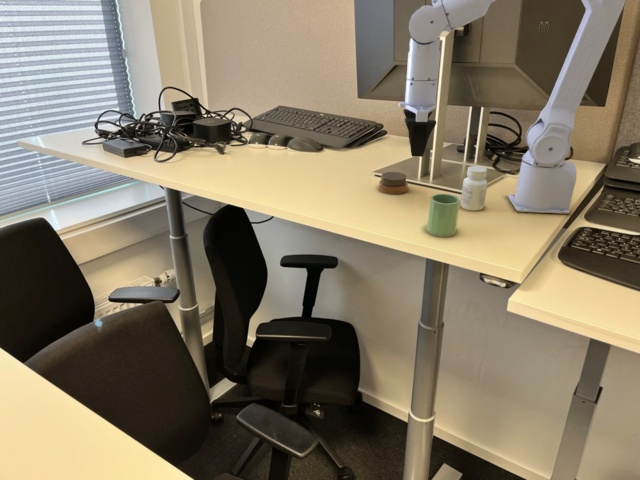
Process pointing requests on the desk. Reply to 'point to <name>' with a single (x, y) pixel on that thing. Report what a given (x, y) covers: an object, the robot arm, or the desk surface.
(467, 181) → the pill bottle
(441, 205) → the plastic cup
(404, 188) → the teak chip
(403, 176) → the brown round lid
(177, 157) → the desk surface
